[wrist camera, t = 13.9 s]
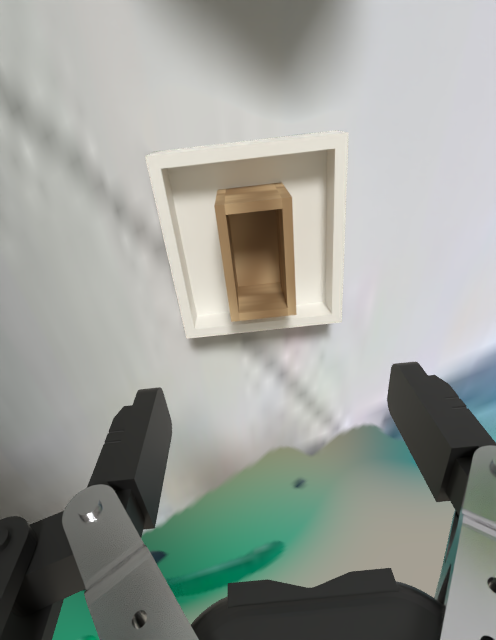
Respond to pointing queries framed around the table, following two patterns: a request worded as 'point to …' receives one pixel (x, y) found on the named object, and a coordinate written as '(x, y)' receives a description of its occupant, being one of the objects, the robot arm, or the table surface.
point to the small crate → (257, 250)
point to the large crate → (202, 233)
